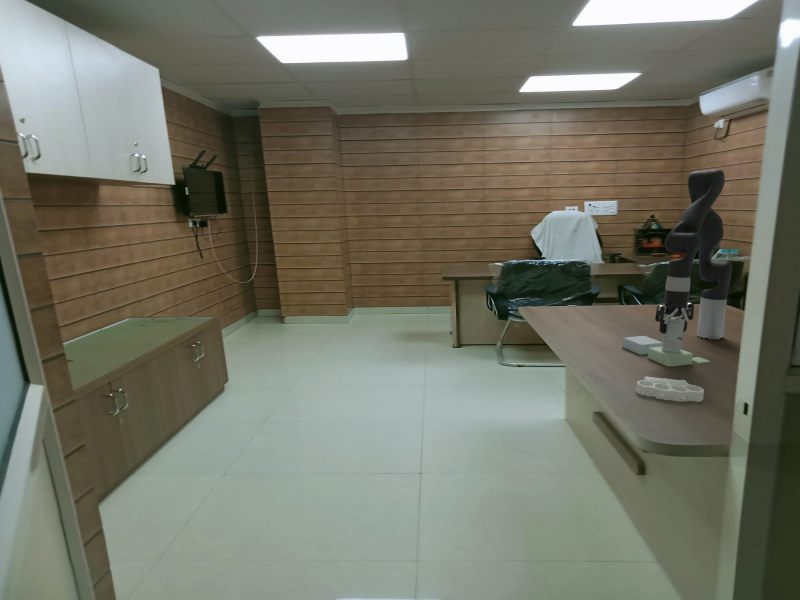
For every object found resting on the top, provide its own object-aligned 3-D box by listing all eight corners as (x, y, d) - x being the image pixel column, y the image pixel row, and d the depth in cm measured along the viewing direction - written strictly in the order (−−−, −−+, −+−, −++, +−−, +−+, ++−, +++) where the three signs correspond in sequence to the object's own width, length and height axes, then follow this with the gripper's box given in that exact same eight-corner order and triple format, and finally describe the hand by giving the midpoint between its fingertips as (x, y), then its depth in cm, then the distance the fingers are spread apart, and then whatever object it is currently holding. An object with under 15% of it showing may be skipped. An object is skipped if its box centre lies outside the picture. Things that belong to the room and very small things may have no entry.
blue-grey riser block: (643, 345, 190) (644, 335, 189) (662, 352, 181) (663, 342, 180) (622, 347, 188) (623, 337, 187) (640, 354, 178) (641, 344, 178)
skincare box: (661, 351, 170) (665, 319, 167) (661, 347, 174) (665, 316, 171) (681, 353, 167) (684, 321, 164) (681, 350, 171) (684, 318, 168)
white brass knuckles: (695, 388, 147) (707, 407, 133) (632, 382, 153) (638, 400, 139) (696, 378, 146) (709, 397, 133) (633, 372, 152) (639, 389, 139)
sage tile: (698, 358, 173) (698, 356, 173) (710, 362, 169) (710, 361, 168) (687, 359, 172) (687, 358, 172) (698, 364, 167) (698, 362, 167)
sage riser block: (670, 355, 177) (671, 345, 176) (691, 364, 167) (693, 353, 167) (647, 358, 175) (648, 347, 174) (668, 366, 165) (669, 356, 164)
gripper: (685, 285, 171) (680, 328, 174) (652, 288, 167) (648, 331, 171) (702, 289, 163) (697, 333, 167) (668, 291, 160) (664, 336, 164)
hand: (672, 332), depth 169 cm, fingers open, 8 cm apart
